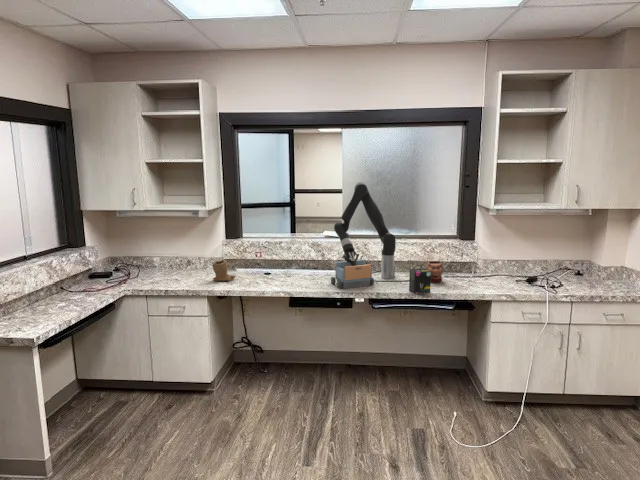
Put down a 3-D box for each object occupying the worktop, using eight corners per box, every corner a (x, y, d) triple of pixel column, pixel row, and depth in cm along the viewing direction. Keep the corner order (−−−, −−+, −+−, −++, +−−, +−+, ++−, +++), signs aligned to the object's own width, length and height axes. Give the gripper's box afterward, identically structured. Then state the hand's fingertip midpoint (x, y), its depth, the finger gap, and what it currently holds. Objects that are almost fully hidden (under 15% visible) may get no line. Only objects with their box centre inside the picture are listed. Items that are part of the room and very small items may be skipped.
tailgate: (369, 277, 286) (369, 264, 284) (370, 277, 284) (371, 264, 282) (344, 279, 279) (344, 266, 278) (345, 280, 278) (346, 267, 276)
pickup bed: (363, 279, 304) (363, 257, 301) (374, 285, 288) (374, 262, 285) (330, 282, 295) (330, 260, 292) (339, 289, 279) (339, 266, 277)
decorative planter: (422, 277, 308) (423, 258, 305) (439, 277, 307) (440, 258, 305) (428, 284, 288) (429, 265, 286) (446, 284, 287) (447, 265, 285)
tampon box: (415, 294, 266) (416, 272, 263) (408, 290, 274) (409, 269, 272) (430, 293, 269) (431, 271, 266) (423, 289, 277) (424, 267, 275)
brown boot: (210, 282, 300) (209, 262, 298) (216, 278, 312) (215, 258, 309) (230, 283, 298) (229, 262, 295) (236, 278, 309) (235, 259, 307)
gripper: (340, 243, 289) (347, 264, 280) (357, 242, 294) (365, 262, 285) (337, 249, 295) (344, 270, 286) (354, 248, 300) (361, 268, 290)
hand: (354, 266), depth 285 cm, fingers closed
